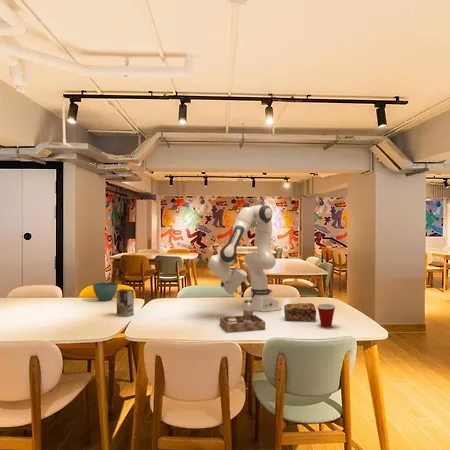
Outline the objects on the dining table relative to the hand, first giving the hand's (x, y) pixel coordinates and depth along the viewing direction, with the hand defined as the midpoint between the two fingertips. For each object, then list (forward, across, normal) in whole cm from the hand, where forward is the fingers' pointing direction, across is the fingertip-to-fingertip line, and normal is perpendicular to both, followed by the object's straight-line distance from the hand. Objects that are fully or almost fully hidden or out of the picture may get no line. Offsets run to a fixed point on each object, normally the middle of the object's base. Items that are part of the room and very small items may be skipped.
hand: (245, 289), depth 237 cm
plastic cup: (+49, -17, -1) cm, 52 cm away
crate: (+12, +2, +24) cm, 27 cm away
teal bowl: (-79, +87, +14) cm, 118 cm away
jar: (+8, +2, +30) cm, 31 cm away
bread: (+38, -3, -7) cm, 38 cm away
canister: (+14, +2, +21) cm, 26 cm away
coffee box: (-50, +49, +38) cm, 79 cm away
